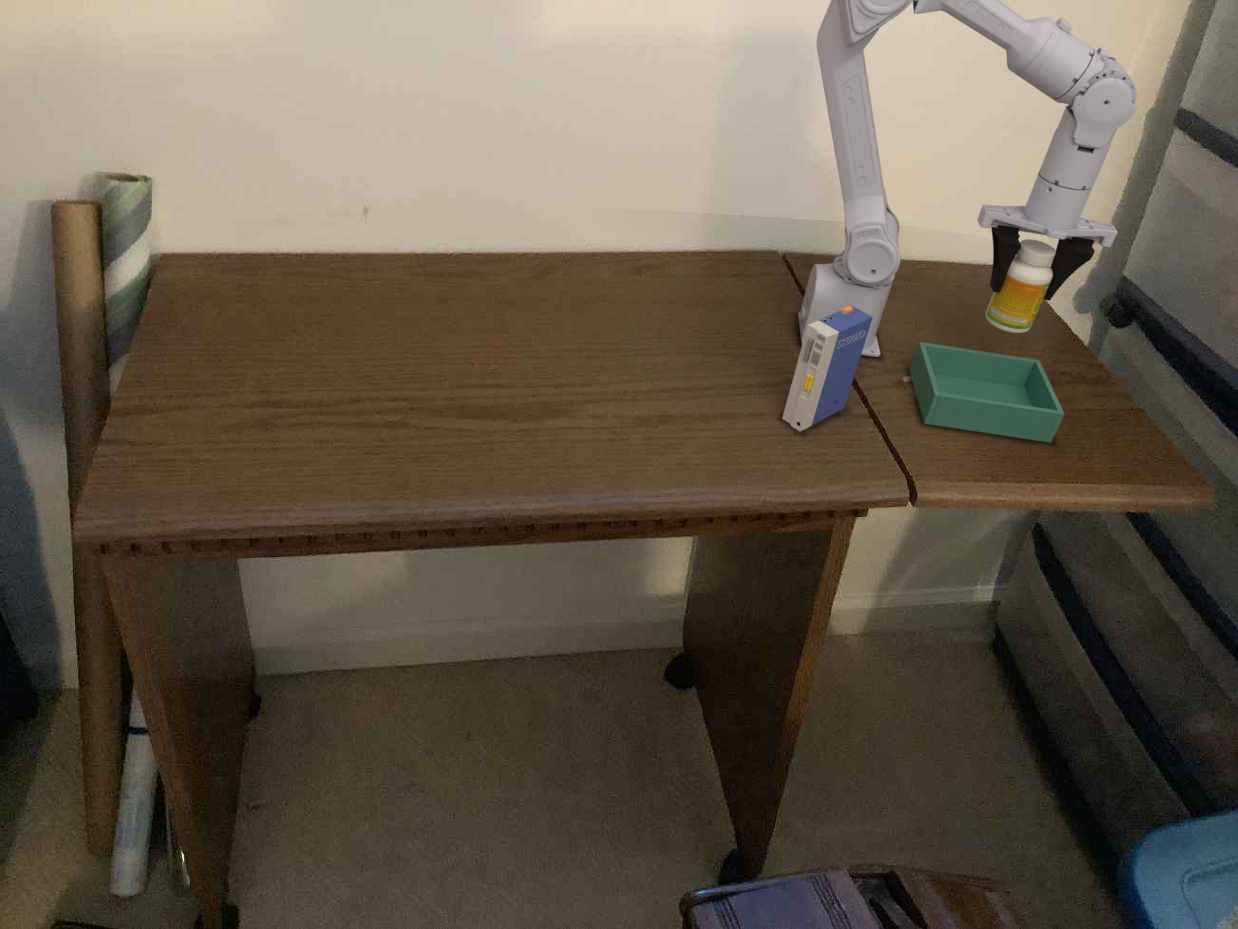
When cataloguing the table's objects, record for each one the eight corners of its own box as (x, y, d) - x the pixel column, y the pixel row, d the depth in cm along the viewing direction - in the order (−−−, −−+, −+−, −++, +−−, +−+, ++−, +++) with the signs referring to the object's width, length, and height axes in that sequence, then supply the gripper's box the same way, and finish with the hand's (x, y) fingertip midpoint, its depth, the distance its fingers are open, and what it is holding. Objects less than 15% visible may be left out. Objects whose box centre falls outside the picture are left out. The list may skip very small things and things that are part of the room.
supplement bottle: (1032, 338, 116) (1065, 262, 111) (985, 328, 117) (1016, 251, 111) (1027, 316, 121) (1059, 242, 115) (982, 307, 121) (1011, 232, 115)
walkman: (824, 396, 113) (852, 302, 106) (844, 409, 112) (874, 313, 104) (779, 419, 108) (805, 321, 101) (799, 432, 107) (827, 334, 100)
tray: (923, 423, 111) (934, 394, 109) (909, 369, 120) (919, 341, 118) (1051, 442, 111) (1064, 414, 109) (1027, 387, 120) (1039, 359, 118)
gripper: (1006, 183, 105) (963, 298, 113) (1144, 204, 105) (1091, 318, 113) (992, 158, 111) (952, 270, 119) (1124, 179, 111) (1074, 289, 119)
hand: (1019, 292), depth 116 cm, fingers closed on supplement bottle, 5 cm apart
